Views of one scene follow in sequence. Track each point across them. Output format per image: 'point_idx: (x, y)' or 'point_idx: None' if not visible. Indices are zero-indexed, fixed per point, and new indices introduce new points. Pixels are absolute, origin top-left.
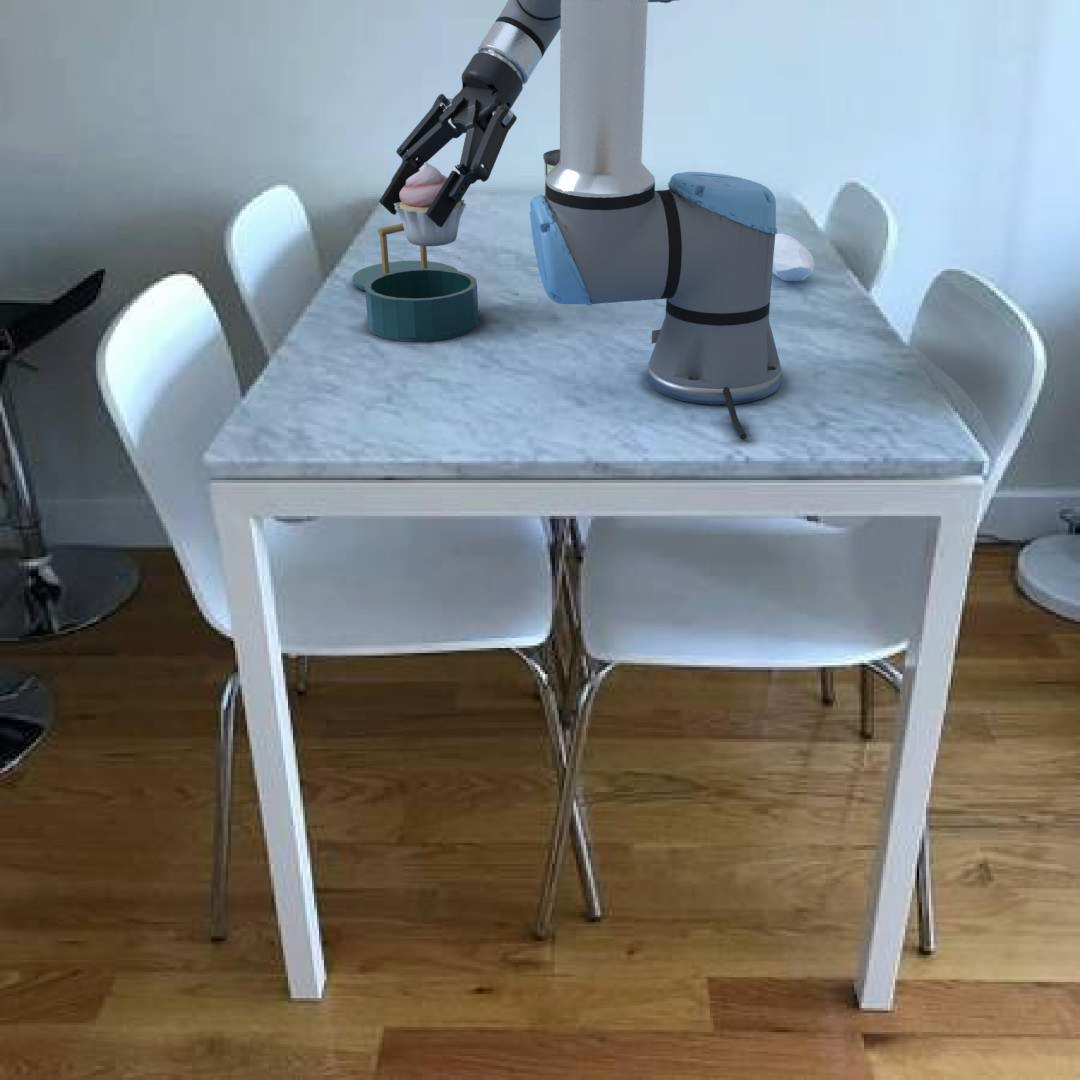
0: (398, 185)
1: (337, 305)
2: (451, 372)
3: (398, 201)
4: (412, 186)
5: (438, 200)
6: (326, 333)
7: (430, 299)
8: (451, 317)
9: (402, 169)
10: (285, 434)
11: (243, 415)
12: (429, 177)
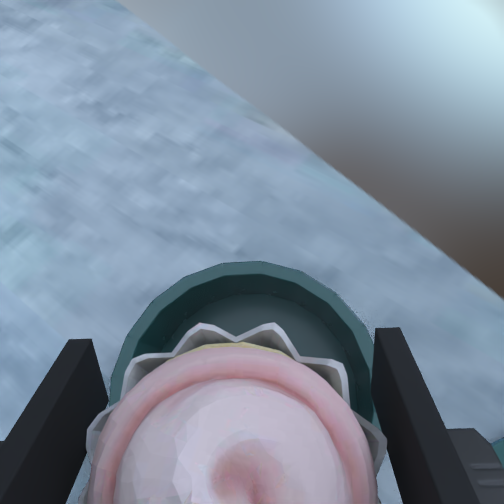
0: (401, 426)
1: (486, 334)
2: (15, 272)
3: (384, 416)
4: (213, 379)
5: (39, 390)
6: (332, 226)
7: (129, 332)
8: None
9: (435, 477)
10: (29, 13)
11: (115, 2)
12: (132, 452)
